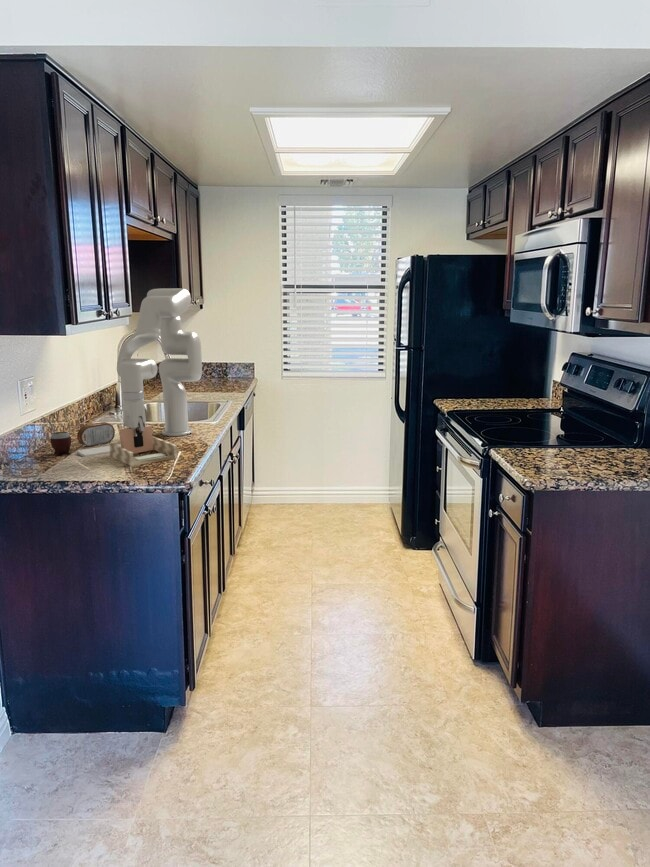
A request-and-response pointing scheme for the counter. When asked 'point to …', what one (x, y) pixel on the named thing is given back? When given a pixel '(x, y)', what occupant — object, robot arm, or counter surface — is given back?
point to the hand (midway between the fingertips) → (137, 445)
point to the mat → (95, 451)
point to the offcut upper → (149, 457)
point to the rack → (158, 445)
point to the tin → (95, 434)
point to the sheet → (128, 439)
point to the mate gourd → (60, 441)
